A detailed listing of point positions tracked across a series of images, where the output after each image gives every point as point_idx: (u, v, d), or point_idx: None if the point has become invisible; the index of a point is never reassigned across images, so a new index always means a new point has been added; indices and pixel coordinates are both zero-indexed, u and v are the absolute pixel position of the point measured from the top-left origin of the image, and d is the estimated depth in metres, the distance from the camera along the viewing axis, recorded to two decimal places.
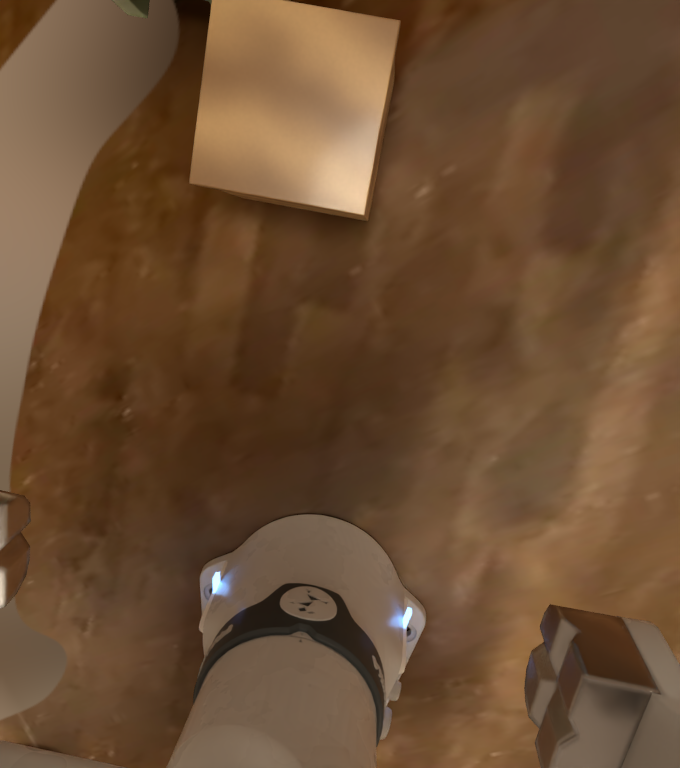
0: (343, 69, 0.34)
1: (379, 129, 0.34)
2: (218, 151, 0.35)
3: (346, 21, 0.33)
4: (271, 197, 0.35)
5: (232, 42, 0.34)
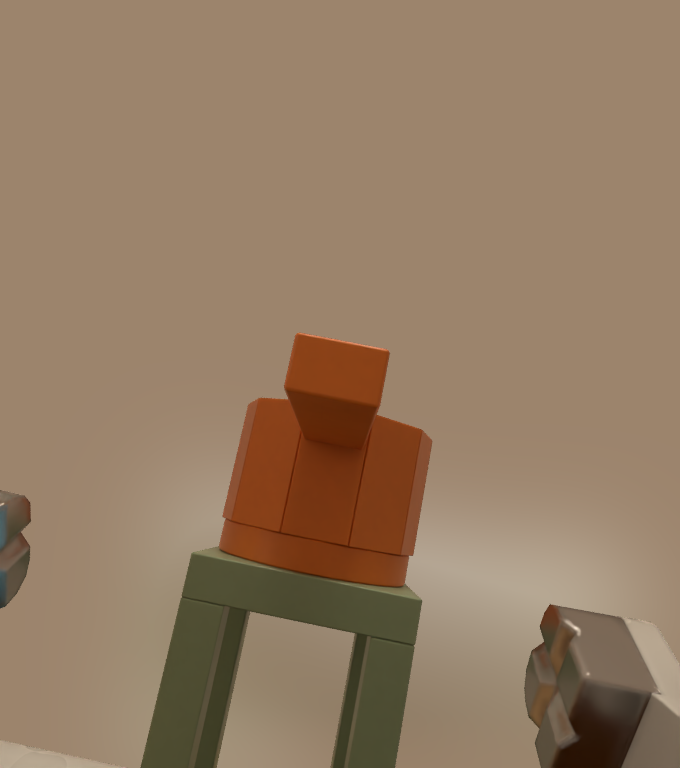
0: None
1: None
2: None
3: None
4: None
5: None
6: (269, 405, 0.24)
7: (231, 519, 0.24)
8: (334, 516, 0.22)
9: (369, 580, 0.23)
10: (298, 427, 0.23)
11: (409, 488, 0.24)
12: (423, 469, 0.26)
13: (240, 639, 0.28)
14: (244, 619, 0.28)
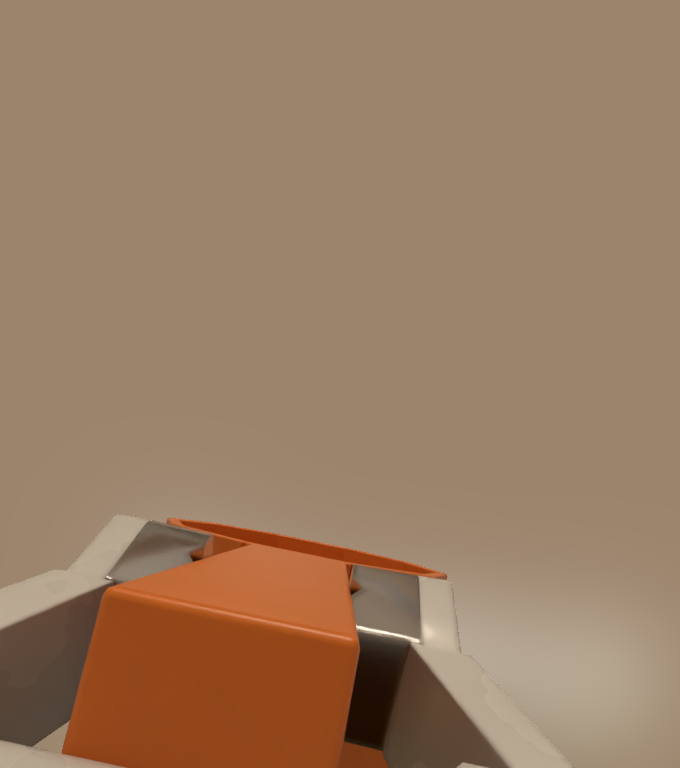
0: None
1: None
2: None
3: None
4: None
5: None
6: None
7: None
8: None
9: None
10: None
11: None
12: None
13: None
14: None
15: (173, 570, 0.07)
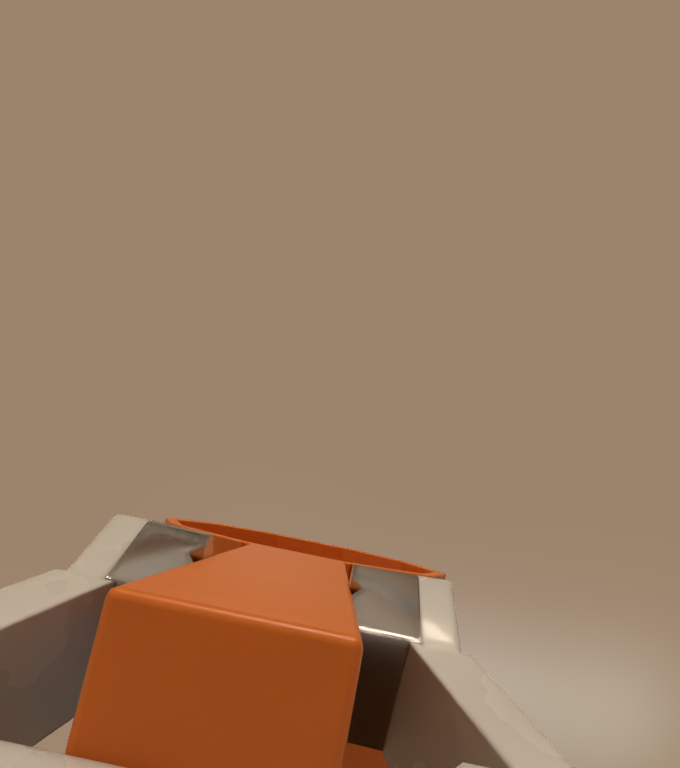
0: None
1: None
2: None
3: None
4: None
5: None
6: None
7: None
8: None
9: None
10: None
11: None
12: None
13: None
14: None
15: (175, 570, 0.07)
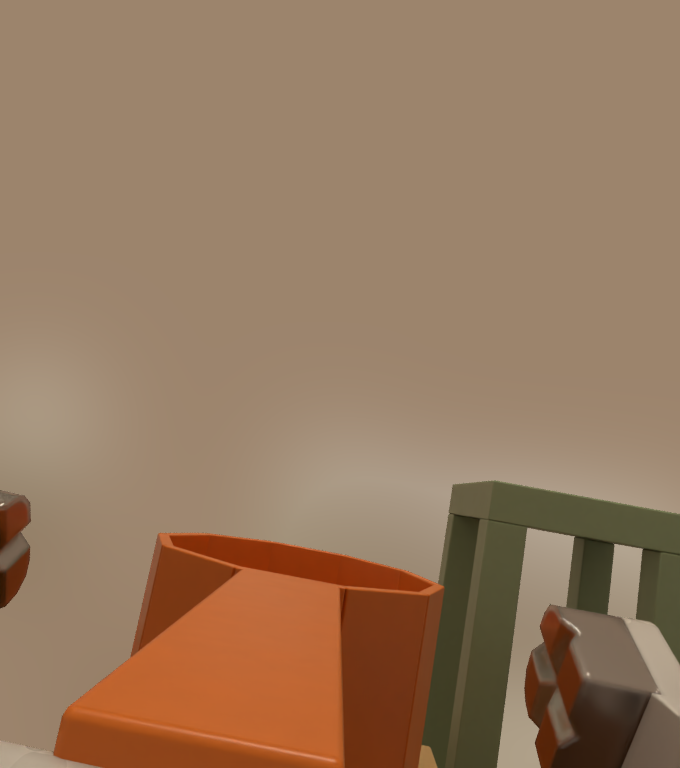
0: None
1: None
2: None
3: None
4: None
5: None
6: (176, 562, 0.15)
7: None
8: None
9: None
10: None
11: (409, 697, 0.15)
12: (431, 644, 0.16)
13: None
14: None
15: (148, 651, 0.07)
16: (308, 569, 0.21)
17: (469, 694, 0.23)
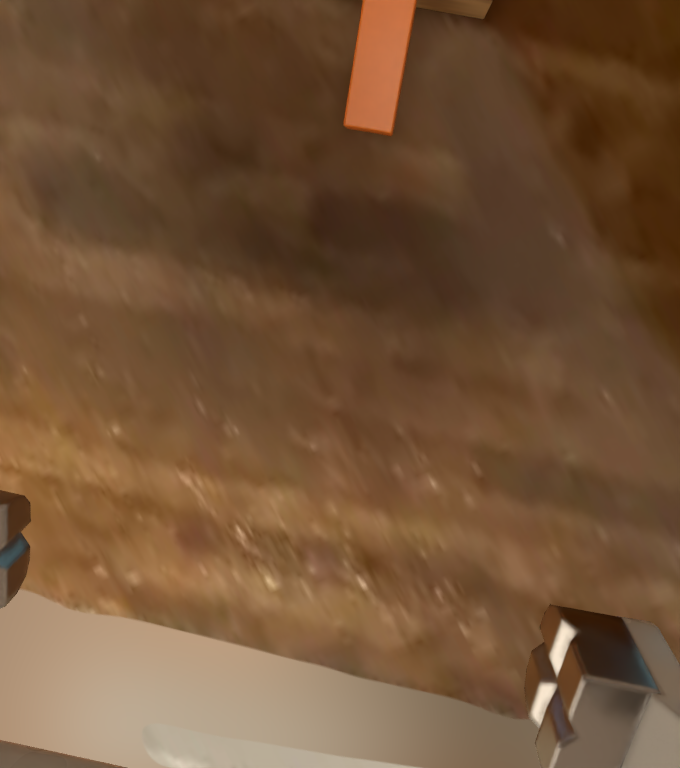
0: None
1: None
2: None
3: None
4: None
5: None
6: None
7: None
8: None
9: None
10: None
11: None
12: None
13: None
14: None
15: (353, 82, 0.27)
16: None
17: None
